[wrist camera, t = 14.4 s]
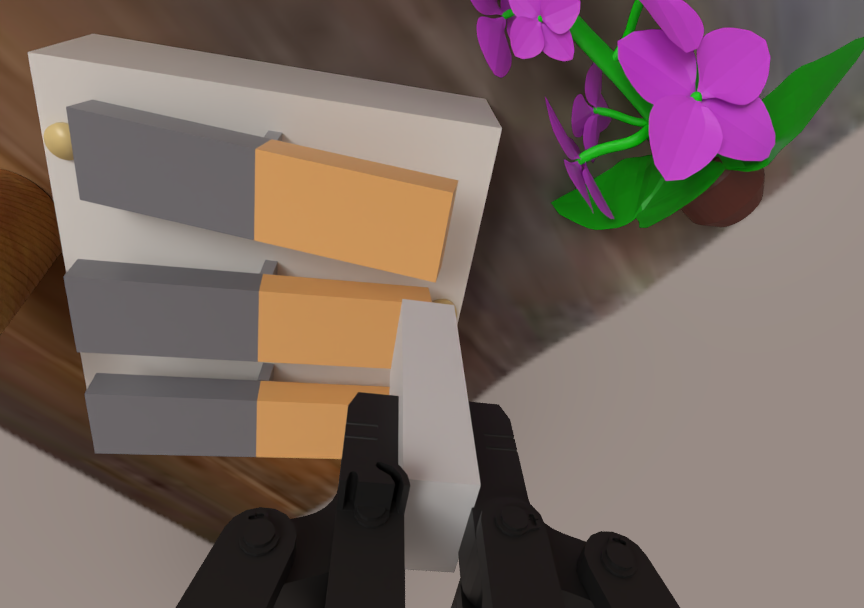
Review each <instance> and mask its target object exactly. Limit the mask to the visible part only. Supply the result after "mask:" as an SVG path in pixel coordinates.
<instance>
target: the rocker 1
mask: <svg viewBox="0 0 864 608" xmlns="http://www.w3.org/2000/svg"><path fill="white" fill-rule="evenodd" d="M66 111H67V118H68V124H69V131H70V138H71V144H72V151H73V158H74V164H75V171H76V177H77V184H78V191H79V197H80V200H83V201H87V202H91V203H96V204H100V205H104V206H109V207H113V208H117V209H121V210H126V211H130V212H134V213H139V214H143V215H147V216H151V217H156V218H160V219H164V220H169V221H173V222H177V223H181V224H186V225H190V226H194V227H199V228H203V229H207V230H212V231H216V232H220V233H224V234H229V235H233V236H237V237H242V238H246V239H250V240H254V241H259V242H263V243H267V244H272V245H276V246H280V247H284V248H289V249H293V250H297V251H302V252H306V253H310V254H315V255H319V256H323V257H327V258H332V259H336V260H340V261H345V262H349V263H353V264H357V265H362V266H366V267H370V268H375V269H379V270H383V271H387V272H392V273H396V274H400V275H405V276H409V277H413V278H418V279H422V280H426V281H430V282H435V283H436V280H437V277H438V275H439V272H440V269H441V266H442V261H443V256H444V251H445V246H446V241H447V236H448V231H449V226H450V221H451V216H452V211H453V206H454V201H455V196H456V191H457V186H458V181H459V180H454V179H450V178H445V177H441V176H436V175H432V174H427V173H423V172H418V171H414V170H409V169H405V168H400V167H395V166H391V165H386V164H382V163H377V162H373V161H368V160H364V159H359V158H355V157H350V156H346V155H341V154H337V153H332V152H328V151H323V150H319V149H314V148H310V147H305V146H300V145H296V144H291V143H287V142H282V141H278V140H273V139H269V138H264V137H260V136H255V135H251V134H246V133H242V132H237V131H233V130H228V129H224V128H219V127H215V126H210V125H205V124H201V123H196V122H192V121H187V120H183V119H178V118H174V117H169V116H165V115H160V114H156V113H151V112H147V111H142V110H138V109H133V108H129V107H124V106H120V105H115V104H110V103H106V102H101V101H97V100H89V101H85V102H82V103H78V104H74V105H71V106H67V107H66Z"/></svg>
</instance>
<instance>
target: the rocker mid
mask: <svg viewBox="0 0 864 608" xmlns="http://www.w3.org/2000/svg"><path fill="white" fill-rule="evenodd" d="M63 277H64V283H65V288H66V294H67V299H68V305H69V310H70V316H71V322H72V327H73V333H74V338H75V344H76V350H77V352H84V353H102V354H121V355H140V356H159V357H178V358H196V359H215V360H234V361H253V362H272V363H291V364H309V365H328V366H347V367H366V368H385V369H391V365H392V359H393V353H394V347H395V341H396V334H397V328H398V322H399V316H400V310H401V304H402V299H408V300H416V301H424V302H432V300H431V296H430V292H429V288H428V287H417V286H404V285H392V284H380V283H368V282H355V281H343V280H331V279H319V278H306V277H294V276H282V275H270V274H257V273H245V272H233V271H221V270H209V269H196V268H184V267H172V266H160V265H147V264H135V263H123V262H111V261H98V260H86V259H77V260H76V262H75V263H74V264H73V265H72V267H71V268H70V269H69V270H68V271H67V273H66V274H65V275H64V276H63Z"/></svg>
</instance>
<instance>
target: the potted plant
mask: <svg viewBox="0 0 864 608" xmlns="http://www.w3.org/2000/svg"><path fill="white" fill-rule="evenodd" d="M471 2H472V3H473V5H474V7H475V8H476V9H477V10H478V11H479V12H480V13H482V14H484V15H494V14H499V15H502V17H499V18H494V19H492V18H488V17H484V16H482V17H479V19H478V21H477V37H478V41H479V44H480V47H481V50H482V52H483V54H484V57H485V59H486V61H487V63H488V65H489V66H490V68H491V70H492V71H493V73H494V75H496V76H498V77H501V78H502V77H504V76H505V75H506V74H507V73H508V71H509V69H510V67H511V62H512V56H511V52H510V48H509V45H508V42H507V39H506V36H505V33H504V30H505V26H506V20H507V33H508V36H509V38H510V40H511V48H512V50H513V52H514V55H515V56H516V57H519V58H522V59H527V58H532V57H535V56H536V55H538V54H539V53H540V52H541V51H543V52H544V53H545V54H546V55H548V56H549V57H551V58H553V59H556V60H560V61H568V60H572V59H573V54H574V45H573V40H574V41H575V43H576V44H577V45H578V46H579V47H580V48H581V49H582V50H583V51H584V52H585V53H586V54H587V56H588V57H589V58H590V59H591V60H592V61H593V64H592V65H591V67H590V69H589V71H588V73H587V76H586V81H585V94H586V98H587V100H588V102H589V103H590V104H591V105H593V106H594V108H592V107H590V106H589V105H588V104H587V103H586V101H585V99H584V97H583V95H582V94H579V95H577V96H576V98H575V100H574V103H573V109H572V124H571V126H572V131H573V134H574V136H575V137H581V136H582V135H583V143H584V147H585V151H584V152H582V153H580V149H579V147H578V146H577V145H576V143H575V142H574V141H573V140H572V139H571V138H569V137H568V136H567V135H566V133H565V131H564V129H563V127H562V125H561V124H560V122H559V120H558V118H557V117H556V115H555V113H554V111H553V109H552V107H551V106H550V104H549V102H548V100H547V98H546V97H545V100H546V105H547V110H548V114H549V118H550V122H551V125H552V128H553V131H554V133H555V136H556V138H557V140H558V141H559V143H560V145H561V147H562V149H563V150H564V152H565V154H566V155H567V156H568V158H569V159H571V160H573V159H576V161H575V162H572V163H570V162H568V161H567V160H565V159H564V163H565V167H566V169H567V172H568V174H569V177H570V178H571V180H572V182H573V183H574V185H575V186H576V188H577V189H575V190H573V191H571V192H569V193H567V194H566V195H564V196H562V197H560V198H559V199H557V200H555V201H553V202H551V203H552V205H553V206H554V208H555V209H556V210H557V212H558V213H559V214H560V215H562V216H564V217H566V218H568V219H570V220H572V221H573V222H575V223H577V224H580V225H582V226H584V227H586V228H589V229H593V230H603V229H612V228H618V227H621V226H624V225H627V224H628V223H630V222H631V221H633V220H634V219H636V218H637V220H638V221H639V228H648V227H649V226H651V225H653V224H655V223H657V222H659V221H661V220H663V219H664V218H666V217H668V216H670V215H671V214H673V213H674V212H676V211H677V210H679V209H681V210H682V211H683V212H684V213H685V214H686V215H687V216H688V218H689V219H690V220H691V221H692V222H693V223H695V224H699V225H706V226H714V227H727V226H730V225H733V224H735V223H737V222H739V221H741V220H742V219H744V218H746V217H747V216H748V215H749V214H751V213H752V212H753V211H754V210H755V208H756V207H757V206H758V205H759V203H760V201H761V199H762V197H763V190H764V176H765V173H764V169H763V167H765V166H767V165H769V163H770V162H771V161H772V160H773V159H774V158H775V157H776V155H777V154H778V153H779V152H780V150H781V149H783V148H784V147H785V146H786V145H787V144H788V143H790V142H791V141H792V140H793V139H794V138H795V137H796V136H797V135H798V134H799V133H800V132H802V130H803V129H804V128H805V126H806V125H807V124H808V122H809V121H810V120H811V118H812V117H813V116H814V114H815V113H816V112H817V111H818V109H819V108H820V107H821V105H822V104H823V103H824V101H825V100H826V99H827V98H828V96H829V95H830V94H831V92H832V91H833V90H834V88H835V87H836V86H837V85H838V83H839V82H840V81H841V79H842V78H843V77H844V76H845V74H846V73H847V72H848V70H849V69H850V68H851V67H852V65H853V64H854V63H855V62H856V60H857V59H858V57H859V56H860V54H861V53H862V51H863V49H864V37H862V38H858V39H855V40H854V41H852V42H850V43H848V44H847V45H845V46H843V47H841V48H840V49H838V50H836V51H834V52H833V53H831V54H829V55H827V56H825V57H822V58H820V59H818V60H816V61H814V62H811V63H809V64H806V65H803V66H801V67H800V68H798V69H797V70H795V71H794V72H793V73H791V74H790V75H789V76H788V77H787V78H786V79H785V80H784V81H783V82H782V83H781V84H780V85H779V86H778V87H777V88H776V89H774V90H773V91H772V92H771V93H770V94H769V95H767V96H766V97H765V98H764V99H762V100H761V99H760V98H759V97H758V96H759V95H760V93H761V91H762V89H763V88H764V86H765V84H766V81H767V77H768V74H769V65H770V54H769V50H768V47H767V43H766V40H765V39H763V38H761V37H760V36H758V35H756V34H755V33H753V32H751V31H750V30H744V29H738V28H721V29H717V30H714V31H711V32H709V33H708V34H706V35H705V36H704V37H703V33H704V27H703V23H702V21H701V19H700V17H699V16H698V15H697V13H696V12H695V11H694V10H693V9H692V8H691V7H690V6H689V5H688V4H687V3H685V2H684V1H683V0H635V2H634V4H633V7H632V10H631V13H630V16H629V19H628V22H627V26H626V29H625V32H624V34H623V37H622V39H620V40H619V41H618V46H617V47H616V49H615V51H613V50H612V49H611V48H610V47H609V46H608V45H607V44H606V43H605V42H604V41H603V40H602V39H601V38H600V37H599V36H598V35H597V34H596V33H595V32H594V31H593V30H592V29H591V28H590V27H589V26H588V25H587V23H586V22H585V21H584V20H583V19H582V18H581V17H580V16H579V13H580V2H581V1H579V0H501V8H500V7H499V6H498V3H497V0H471ZM643 6H644V7H645V8H646V9H647V10H648V12H649V13H650V14H651V16H652V17H653V18H654V20H655V21H656V23H657V24H658V25H659V26H660V27H661V29H662V30H660V29H650V30H643V31H636V32H634V31H635V28H636V25H637V22H638V19H639V16H640V13H641V11H642V8H643ZM695 49H697V62H696V58H695V54H694V51H693V50H695ZM602 71H603V73H604V74H605V75H606V76H607V77H608V78H609V79H610V80H611V81H612V82H613V83H614V84H615V85H616V87H617V88H618V89H619V90H620V91H621V92H622V93H623V94H624V96H625V97H626V98H627V99H628V100H629V101H630V102H631V103H632V105H633V106H634V107H635V108H636V110H637V111H638V112H639V113H640V114H641V116H642V117H643V118H644V119H643V118H636V117H632V116H629V115H626V114H624V113H621V112H618V111H615V110H612V109H609V108H608V106H607V103H606V101H605V100H604V98H603V96H602V94H601V89H602ZM592 115H593V116H592ZM611 118H614V119H617V120H620V121H622V122H625V123H628V124H630V125H634V126H639V127H643V128H642V129H640V130H639V131H638V132H637V133H635V134H633V135H631V136H629V137H626V138H623V139H619V140H614V141H610V142H606V143H602V144H599V145H598V140H599V134H600V132H602V131H603V130H604V129H606V128H607V127H608V125H609V123H610V122H611ZM646 139H647V140H648V141H650V146H651V150H652V155H647V156H643V157H633V158H626V159H623V160H621V161H620V162H618V163H617V164H616V165H615V166H613V167H612V168H611V169H609V170H608V171H606V172H604V173H603V174H601V175H599V176H598V177H596V178H594V179H593V177H592V175H591V174H590V172H589V170H588V168H587V165H586V162H588V161H590V160H591V161H592V163H593V162H594V161H595V159H596V157H599V156H601V155H604V154H608V153H612V152H617V151H621V150H626V149H629V148H632V147H635V146H637V145H639V144H641V143H642V142H643V141H645V140H646Z"/></svg>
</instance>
